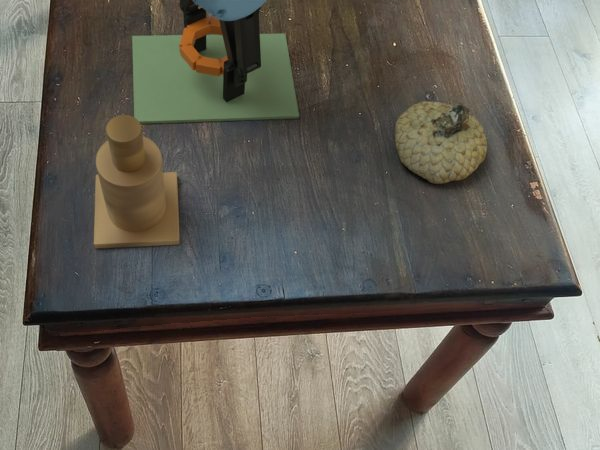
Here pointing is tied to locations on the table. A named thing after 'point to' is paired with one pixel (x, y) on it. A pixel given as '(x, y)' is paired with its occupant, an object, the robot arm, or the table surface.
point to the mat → (208, 83)
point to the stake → (133, 190)
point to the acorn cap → (440, 141)
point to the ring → (190, 53)
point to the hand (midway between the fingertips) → (214, 73)
